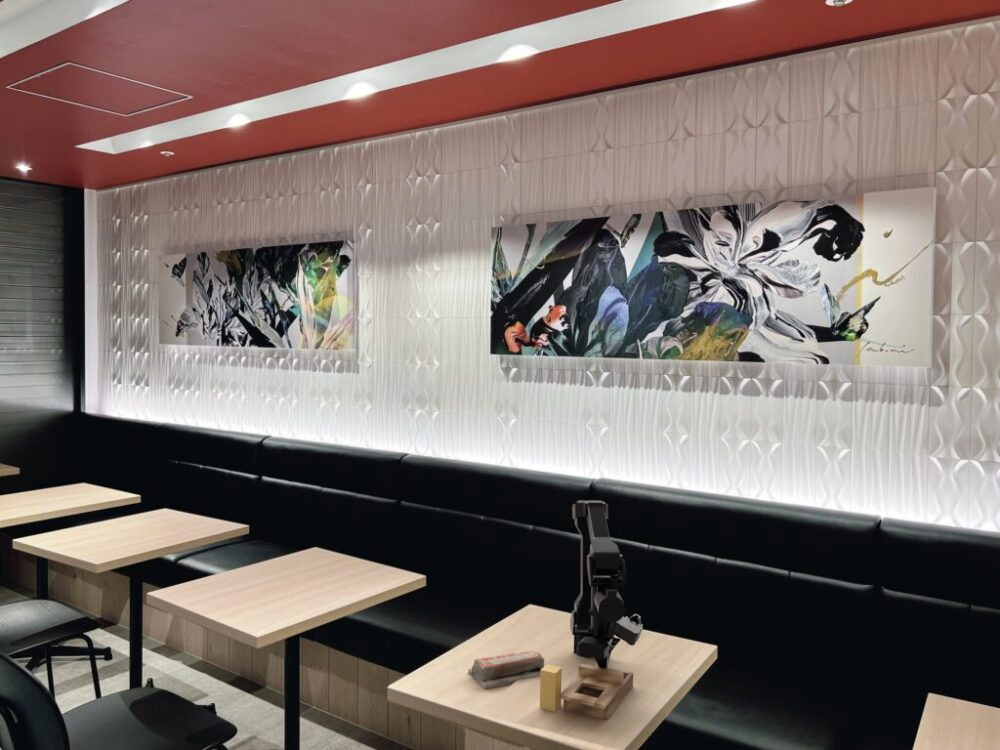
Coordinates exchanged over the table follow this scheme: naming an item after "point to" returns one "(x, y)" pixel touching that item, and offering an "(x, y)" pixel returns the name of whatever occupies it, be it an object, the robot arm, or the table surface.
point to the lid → (594, 685)
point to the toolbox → (596, 693)
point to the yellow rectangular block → (550, 687)
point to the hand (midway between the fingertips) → (603, 672)
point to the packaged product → (506, 668)
